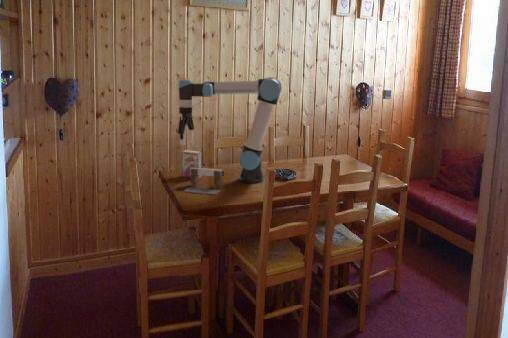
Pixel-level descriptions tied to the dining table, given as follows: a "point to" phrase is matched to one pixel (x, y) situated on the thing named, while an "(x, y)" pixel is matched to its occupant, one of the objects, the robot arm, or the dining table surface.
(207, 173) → the rail
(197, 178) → the post
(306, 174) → the dining table surface
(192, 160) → the candy bar box
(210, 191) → the mat
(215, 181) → the post
